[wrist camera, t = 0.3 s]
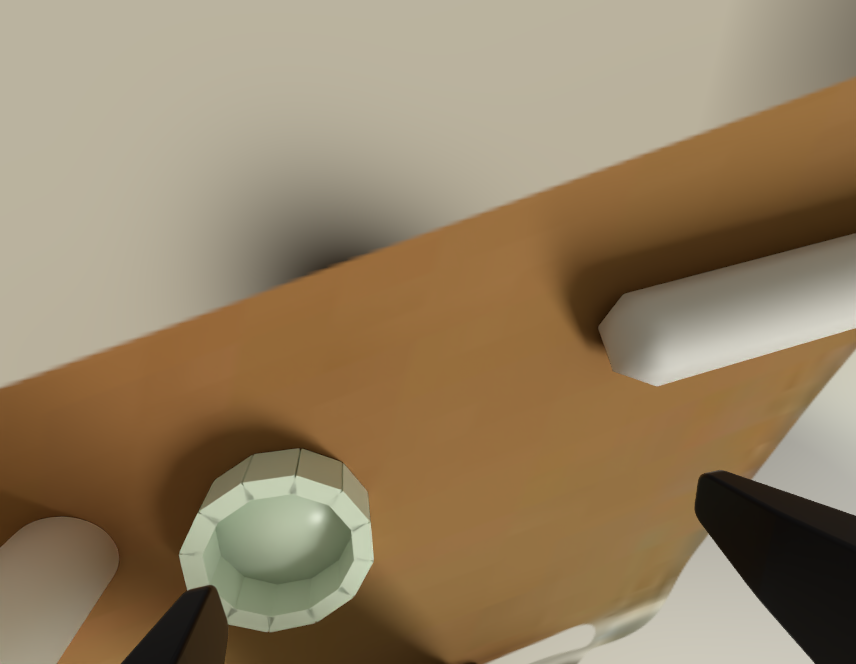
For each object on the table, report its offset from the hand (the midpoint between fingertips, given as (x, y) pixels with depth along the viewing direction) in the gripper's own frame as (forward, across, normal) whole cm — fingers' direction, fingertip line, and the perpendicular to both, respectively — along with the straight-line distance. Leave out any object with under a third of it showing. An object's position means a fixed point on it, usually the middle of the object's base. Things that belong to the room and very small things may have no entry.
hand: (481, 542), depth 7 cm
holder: (+14, +7, +11) cm, 19 cm away
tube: (+15, -24, +1) cm, 28 cm away
